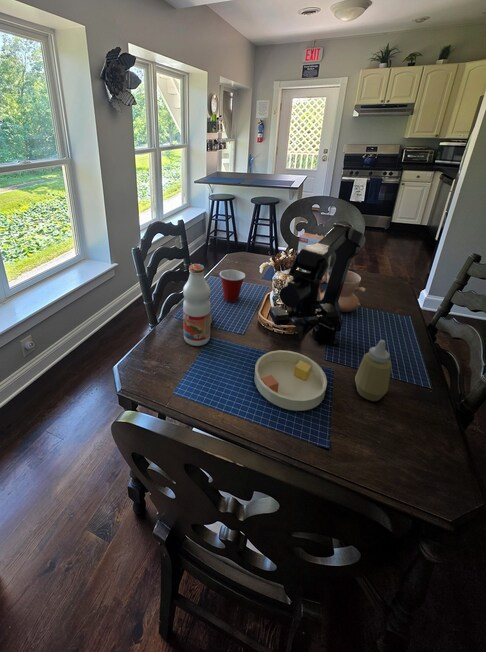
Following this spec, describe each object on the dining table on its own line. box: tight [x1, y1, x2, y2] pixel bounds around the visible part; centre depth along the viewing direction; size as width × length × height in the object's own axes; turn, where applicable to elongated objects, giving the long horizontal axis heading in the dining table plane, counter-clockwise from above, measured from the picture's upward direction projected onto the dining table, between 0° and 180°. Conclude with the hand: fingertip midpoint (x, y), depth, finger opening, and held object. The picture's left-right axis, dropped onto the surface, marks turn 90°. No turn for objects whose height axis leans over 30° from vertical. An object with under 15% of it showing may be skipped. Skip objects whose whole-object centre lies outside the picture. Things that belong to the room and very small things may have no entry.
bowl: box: [253, 349, 328, 412], centre depth 93 cm, size 20×20×4 cm
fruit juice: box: [182, 263, 212, 347], centre depth 108 cm, size 9×9×28 cm
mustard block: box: [294, 361, 311, 381], centre depth 95 cm, size 4×4×4 cm
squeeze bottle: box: [354, 339, 392, 402], centre depth 86 cm, size 8×8×18 cm
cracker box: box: [297, 232, 332, 284], centre depth 152 cm, size 14×6×21 cm, turn 46°
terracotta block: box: [261, 375, 279, 393], centre depth 90 cm, size 4×4×4 cm
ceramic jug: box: [318, 269, 366, 313], centre depth 129 cm, size 18×14×14 cm
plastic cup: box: [219, 269, 246, 303], centre depth 136 cm, size 11×11×12 cm
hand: (300, 337), depth 96 cm, fingers closed
